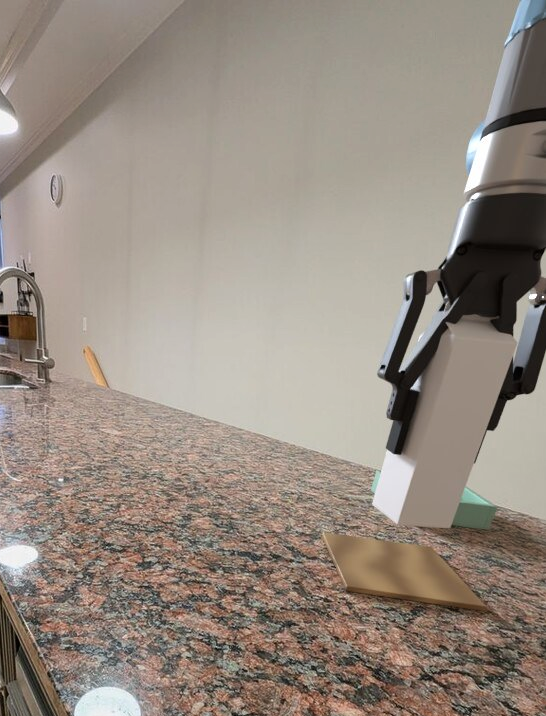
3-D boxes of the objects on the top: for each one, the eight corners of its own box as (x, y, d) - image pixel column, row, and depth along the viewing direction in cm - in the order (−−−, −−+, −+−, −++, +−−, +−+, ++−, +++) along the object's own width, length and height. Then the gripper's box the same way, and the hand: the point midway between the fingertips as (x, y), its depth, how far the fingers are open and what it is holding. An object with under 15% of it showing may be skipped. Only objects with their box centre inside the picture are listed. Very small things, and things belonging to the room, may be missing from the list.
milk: (371, 505, 53) (426, 301, 45) (419, 508, 54) (484, 307, 45) (398, 526, 48) (467, 297, 39) (452, 529, 48) (532, 304, 40)
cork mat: (430, 550, 59) (431, 546, 59) (485, 611, 46) (487, 606, 46) (321, 536, 60) (322, 532, 60) (345, 590, 47) (346, 586, 47)
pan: (448, 499, 80) (456, 479, 79) (488, 530, 68) (498, 506, 66) (370, 489, 82) (376, 469, 80) (395, 517, 69) (402, 495, 68)
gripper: (409, 181, 37) (342, 453, 45) (673, 195, 35) (549, 477, 43) (381, 205, 44) (328, 437, 52) (600, 218, 41) (506, 457, 50)
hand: (428, 455), depth 48 cm, fingers closed on milk, 7 cm apart
